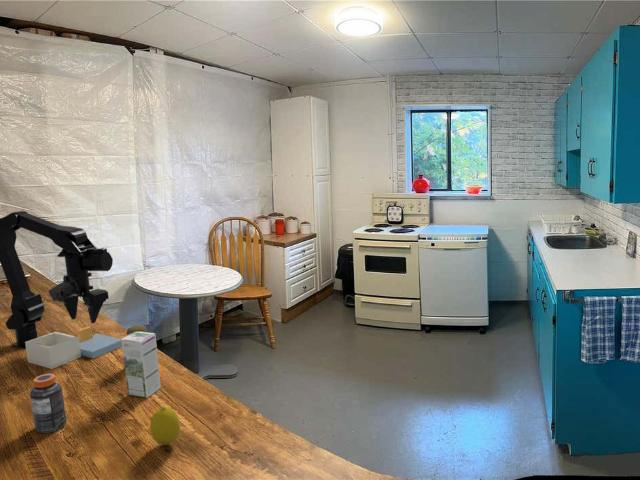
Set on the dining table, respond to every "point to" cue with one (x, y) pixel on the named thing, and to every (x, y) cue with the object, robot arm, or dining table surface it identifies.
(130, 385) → the syrup box
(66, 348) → the parts tub
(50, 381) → the pill bottle
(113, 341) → the lid
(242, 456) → the dining table surface
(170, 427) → the lemon
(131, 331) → the cork
